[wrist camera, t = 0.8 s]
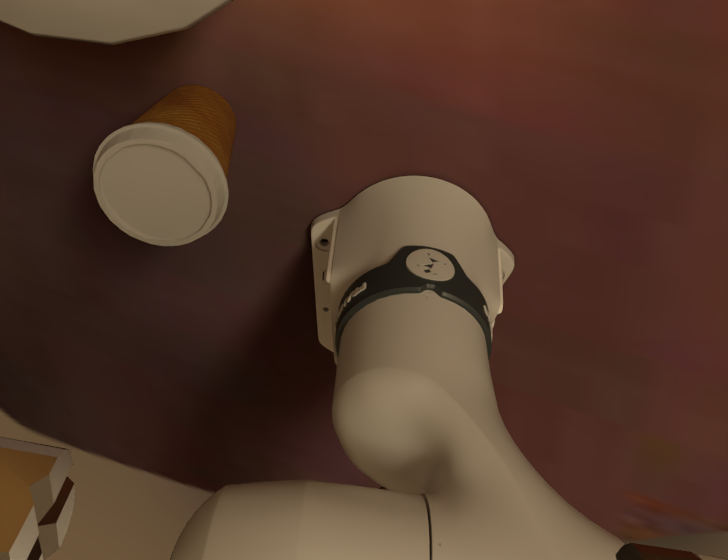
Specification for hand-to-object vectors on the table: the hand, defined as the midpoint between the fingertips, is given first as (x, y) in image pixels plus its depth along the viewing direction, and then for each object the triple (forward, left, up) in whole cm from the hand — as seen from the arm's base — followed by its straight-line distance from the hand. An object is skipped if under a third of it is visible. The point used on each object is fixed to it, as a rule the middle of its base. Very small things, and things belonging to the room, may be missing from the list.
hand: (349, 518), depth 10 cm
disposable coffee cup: (-18, +13, -47) cm, 52 cm away
